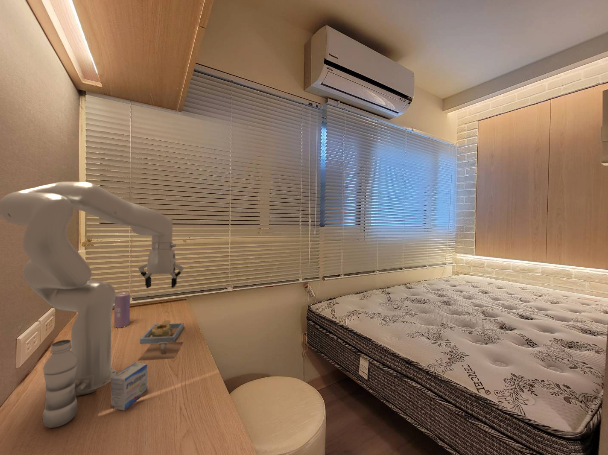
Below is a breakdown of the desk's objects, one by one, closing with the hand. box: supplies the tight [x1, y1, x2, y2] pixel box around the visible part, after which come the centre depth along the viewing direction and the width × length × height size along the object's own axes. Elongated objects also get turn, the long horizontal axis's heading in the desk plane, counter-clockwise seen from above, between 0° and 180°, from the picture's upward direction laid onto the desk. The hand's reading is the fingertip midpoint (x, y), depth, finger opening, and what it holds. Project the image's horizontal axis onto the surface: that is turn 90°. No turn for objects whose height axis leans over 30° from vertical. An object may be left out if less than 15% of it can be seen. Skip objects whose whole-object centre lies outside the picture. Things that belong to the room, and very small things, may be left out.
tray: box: [139, 322, 185, 345], centre depth 111 cm, size 15×13×3 cm
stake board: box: [137, 341, 184, 361], centre depth 98 cm, size 13×12×5 cm
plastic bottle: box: [42, 339, 79, 429], centre depth 64 cm, size 6×7×20 cm
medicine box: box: [110, 362, 148, 411], centre depth 73 cm, size 8×4×9 cm, turn 168°
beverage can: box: [113, 292, 131, 329], centre depth 122 cm, size 6×6×15 cm
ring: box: [151, 319, 172, 337], centre depth 111 cm, size 10×6×4 cm, turn 11°
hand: (161, 287), depth 109 cm, fingers open, 9 cm apart
